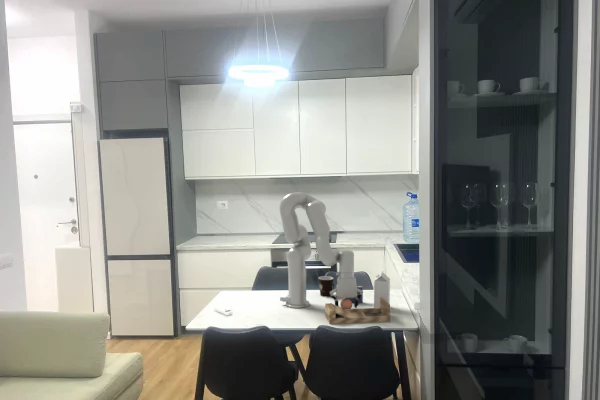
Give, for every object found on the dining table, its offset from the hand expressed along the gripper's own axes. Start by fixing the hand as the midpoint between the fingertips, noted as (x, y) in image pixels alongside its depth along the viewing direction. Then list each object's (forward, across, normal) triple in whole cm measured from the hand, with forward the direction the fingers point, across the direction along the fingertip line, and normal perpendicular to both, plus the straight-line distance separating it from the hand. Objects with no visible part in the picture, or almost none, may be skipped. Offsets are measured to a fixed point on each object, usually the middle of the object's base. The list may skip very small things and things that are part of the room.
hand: (346, 307), depth 212 cm
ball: (+1, 0, 0) cm, 1 cm away
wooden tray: (+1, +3, -12) cm, 12 cm away
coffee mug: (+1, -6, +26) cm, 27 cm away
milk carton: (+1, +19, +1) cm, 19 cm away
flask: (+2, +7, +12) cm, 14 cm away
